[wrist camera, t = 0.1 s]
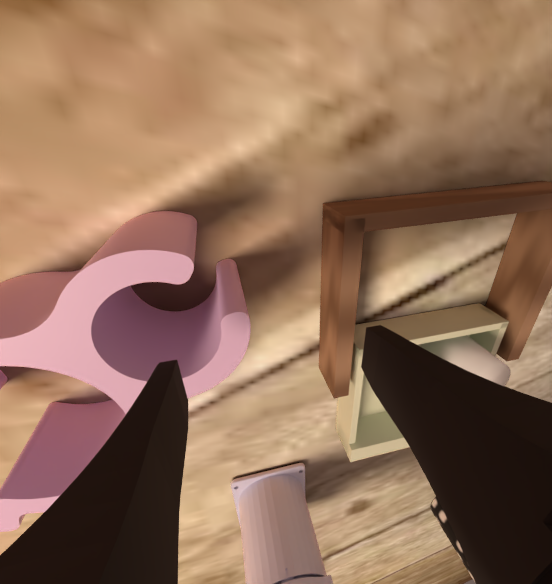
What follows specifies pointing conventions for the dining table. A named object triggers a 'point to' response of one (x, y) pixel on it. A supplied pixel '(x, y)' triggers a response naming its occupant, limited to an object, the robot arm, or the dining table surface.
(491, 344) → the tray
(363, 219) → the rack
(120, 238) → the clip
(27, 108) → the dining table surface
